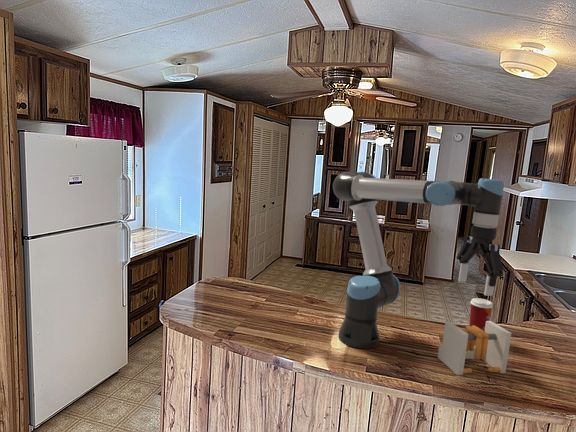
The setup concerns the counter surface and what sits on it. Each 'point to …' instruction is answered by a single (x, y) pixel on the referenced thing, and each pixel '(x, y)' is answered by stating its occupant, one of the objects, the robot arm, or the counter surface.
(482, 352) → the cord hank
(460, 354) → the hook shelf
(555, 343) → the counter surface
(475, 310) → the coffee cup
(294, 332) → the counter surface
